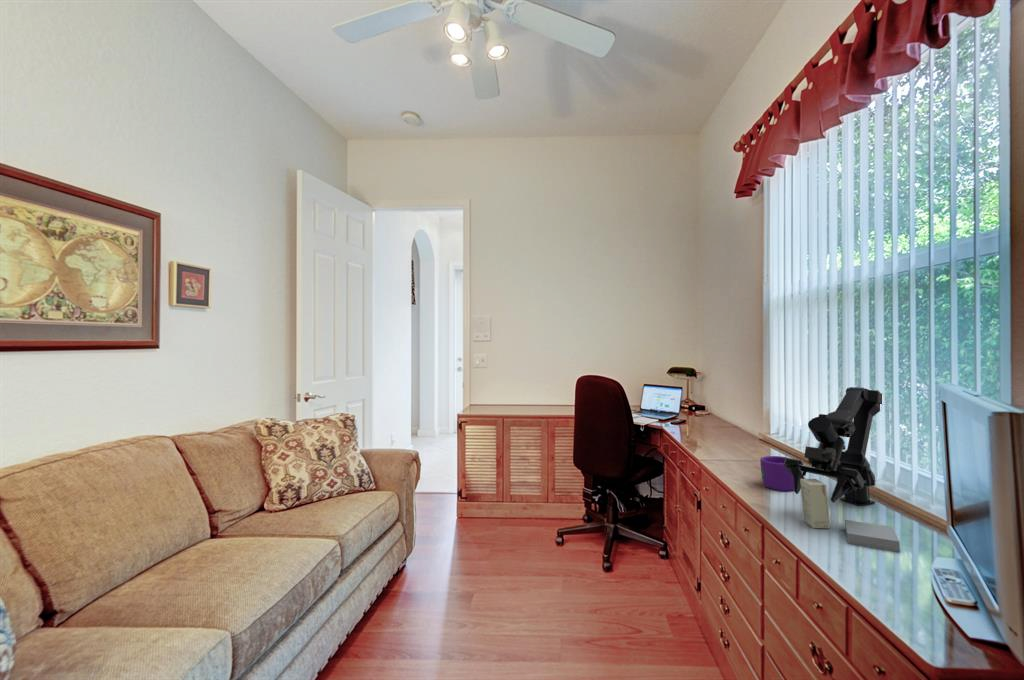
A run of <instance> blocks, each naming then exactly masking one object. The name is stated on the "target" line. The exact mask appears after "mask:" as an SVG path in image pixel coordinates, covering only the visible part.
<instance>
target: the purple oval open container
mask: <svg viewBox="0 0 1024 680" xmlns="http://www.w3.org/2000/svg"><path fill="white" fill-rule="evenodd" d="M787 458H788V457H787V456H779V455H778V456H777V455H768V456H767V455H766V456H763V457H760V471H761V472H760V474H761V479H762V482H763V485H764V486H765V487H766V488H768V489H770V490H773V489H774V490H773V491H779V490H780V492H789V491H795V488H794V478H793V475H792V474H790V473H789V471H788V470H787V468H786V467H785V466H784V462H785V460H786V459H787Z"/></svg>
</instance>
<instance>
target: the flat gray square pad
mask: <svg viewBox="0 0 1024 680" xmlns="http://www.w3.org/2000/svg"><path fill="white" fill-rule="evenodd" d="M844 528H845V529H844V530H845V534H846V538H847V543H848V544H849V543H850V545H855V544H856V545H857V546H862V547H869V548H874V549H879V548H881V549H880V550H885V549H886V550H887V551H891V550H892V551H893V552H898V553H901V548H900V545H901V544H900V539H899V538H898V536H897V535H898V534H897V533H896V531H895V529H894V527H893V526H890V525H883V524H877V523H870V522H865V521H864V522H863V521H857V520H849V519H844ZM892 551H891V552H892Z"/></svg>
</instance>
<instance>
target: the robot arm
mask: <svg viewBox="0 0 1024 680" xmlns="http://www.w3.org/2000/svg"><path fill="white" fill-rule="evenodd" d="M882 394H883V392H880V391H879V390H878V389H877V390H876V389H875V390H874V389H868V388H864V387H859V386H858V387H855V386H854V387H853V386H850V387H847V388H846V389H845V394H844V396H843V398H842V399H841V400H840V403H839V404H838V406H837V408H836V409H835V410H834V411H832V412H829V413H827V414H822V413H820V414H818V416H816V417H813V418H811V419H810V420H809V421H808V423H807V427H808V428H809V430H810V432H811V433H812V435H813V437H814V438H815V440H816V441H817V442H818V443H819V444H818V447H813V446H805V449H804V457H803V458H805V459H808V461H807V462H808V464H809V465H806V464H804V463H803V461H802V460H801V459H798V458H791V457H787V459H786V460H785V462H784V466H785V467H786V468H787V470H788V471H789V473H790V474H792V475H793V478H794V488H795V489H794V493H795V494H796V495H798V494H799V493H800V492H801V484H800V479H806V477H805V476H806V475H807V473H809V474H814V475H819V476H823V477H829V478H834V479H836V484H835V486H834V488H833V489H834V490H832V491H833V492H832V494H831V497H830V501H831V503H832V504H833V503H835V502H837V501H838V500H839V499H840V500H841V501H845V502H848V503H850V504H854V505H855V506H856V505H857V506H859V507H861V506H866V505H872V504H873V505H874V504H876V501H875V500H871V499H870V498H871V496H870V487H876V476H875V474H874V472H873V471H872V469H871V464H870V462H869V461H868V458H867V457H866V453H867V448H868V444H869V439H870V434H871V429H872V427H871V426H872V423H873V418H874V416H876V415H877V414H878V413H880V412H881V410H880V404H882ZM882 405H883V404H882ZM842 437H843V438H849V439H848V444H847V448H846V445H845V441H844V439H843V438H842ZM843 450H844V451H843ZM810 464H811V466H810Z"/></svg>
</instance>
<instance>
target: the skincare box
mask: <svg viewBox="0 0 1024 680" xmlns="http://www.w3.org/2000/svg"><path fill="white" fill-rule="evenodd" d="M800 484H801V489H800V493H801V505H802V517H803V521H804V522H805V523H806V524H807V525H809V526H810V527H812V529H830V528H831V526H830V513H829V503H828V494H827V493H828V491H827V484H825V483H824V482H822V481H820V480H819V479H816V478H805V479H800Z"/></svg>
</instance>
